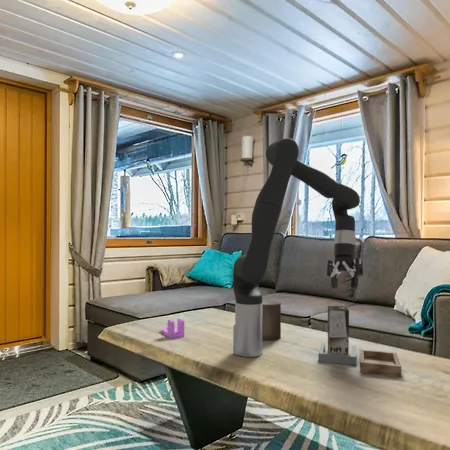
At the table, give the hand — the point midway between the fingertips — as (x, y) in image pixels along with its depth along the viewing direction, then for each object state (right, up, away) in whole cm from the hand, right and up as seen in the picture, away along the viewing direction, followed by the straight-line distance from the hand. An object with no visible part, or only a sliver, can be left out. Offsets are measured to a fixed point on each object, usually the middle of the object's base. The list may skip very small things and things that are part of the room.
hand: (344, 288), depth 145 cm
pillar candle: (-26, -22, +13) cm, 36 cm away
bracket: (-64, -21, +17) cm, 70 cm away
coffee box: (-5, -21, -10) cm, 24 cm away
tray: (+5, -21, -21) cm, 30 cm away
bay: (-5, -21, -10) cm, 24 cm away
